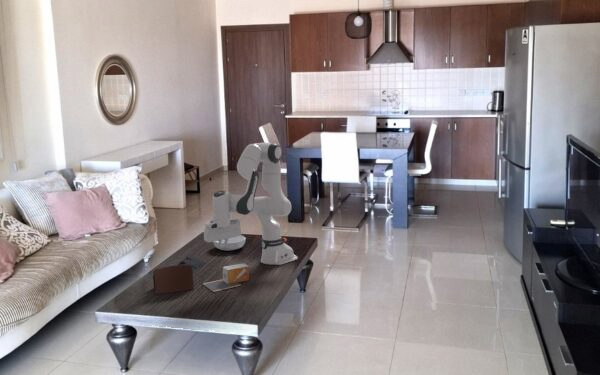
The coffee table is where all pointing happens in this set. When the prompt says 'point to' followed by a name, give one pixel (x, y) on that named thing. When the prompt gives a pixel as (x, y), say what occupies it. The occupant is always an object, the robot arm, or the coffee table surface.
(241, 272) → the small box
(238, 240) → the serving bowl
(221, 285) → the mat
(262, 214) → the robot arm
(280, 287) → the coffee table surface
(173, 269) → the letter holder
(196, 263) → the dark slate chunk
